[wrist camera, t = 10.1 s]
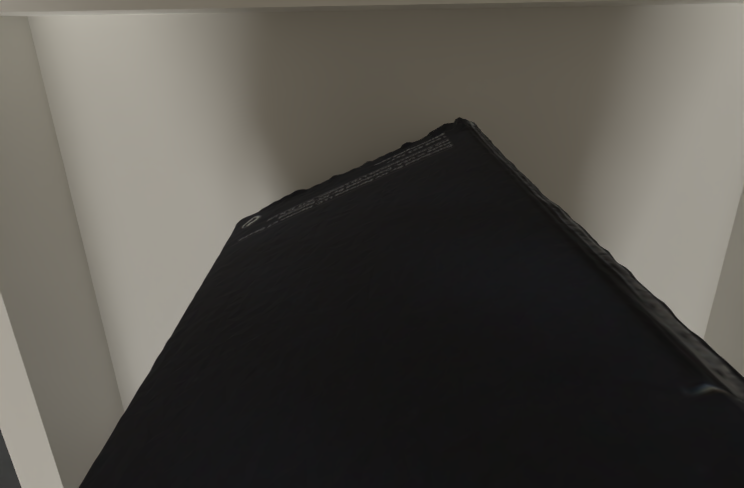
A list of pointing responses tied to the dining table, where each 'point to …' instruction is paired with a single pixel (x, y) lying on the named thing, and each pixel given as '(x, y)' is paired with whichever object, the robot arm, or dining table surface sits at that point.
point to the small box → (427, 348)
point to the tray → (329, 160)
